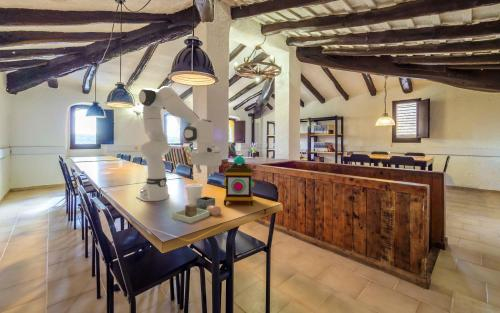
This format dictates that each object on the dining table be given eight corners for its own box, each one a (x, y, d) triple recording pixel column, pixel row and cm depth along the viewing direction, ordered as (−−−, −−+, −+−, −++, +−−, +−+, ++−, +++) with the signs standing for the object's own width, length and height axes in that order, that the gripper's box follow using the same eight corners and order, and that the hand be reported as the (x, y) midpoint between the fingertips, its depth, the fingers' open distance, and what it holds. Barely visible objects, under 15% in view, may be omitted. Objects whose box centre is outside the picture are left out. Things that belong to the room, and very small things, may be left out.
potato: (206, 215, 126) (205, 206, 125) (212, 212, 130) (212, 203, 129) (215, 218, 123) (214, 208, 122) (221, 214, 127) (220, 205, 126)
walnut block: (185, 217, 121) (185, 205, 120) (191, 215, 124) (191, 203, 124) (190, 218, 119) (190, 206, 118) (196, 216, 122) (196, 204, 121)
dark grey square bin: (196, 211, 132) (196, 199, 132) (205, 208, 138) (205, 196, 138) (206, 213, 128) (206, 200, 128) (215, 210, 134) (215, 198, 134)
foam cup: (198, 209, 135) (198, 187, 134) (183, 208, 137) (183, 186, 136) (205, 205, 145) (204, 184, 144) (190, 204, 147) (190, 183, 146)
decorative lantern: (254, 207, 141) (255, 156, 139) (221, 206, 142) (221, 156, 140) (254, 198, 161) (255, 154, 159) (225, 198, 162) (225, 154, 160)
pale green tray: (171, 219, 119) (171, 213, 119) (191, 212, 130) (191, 207, 130) (190, 224, 112) (190, 218, 112) (209, 216, 123) (209, 211, 123)
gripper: (187, 148, 134) (188, 172, 135) (215, 149, 123) (215, 175, 124) (196, 147, 139) (196, 171, 140) (223, 148, 128) (223, 174, 129)
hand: (205, 173), depth 132 cm, fingers open, 8 cm apart
